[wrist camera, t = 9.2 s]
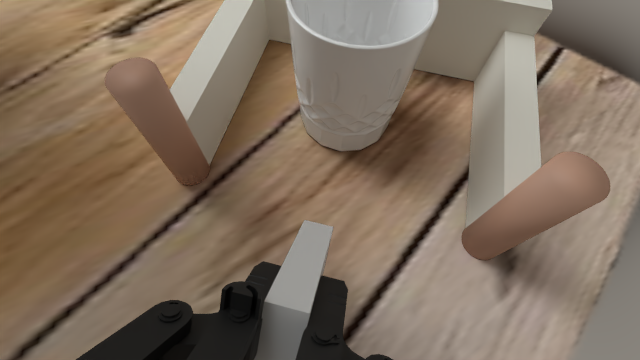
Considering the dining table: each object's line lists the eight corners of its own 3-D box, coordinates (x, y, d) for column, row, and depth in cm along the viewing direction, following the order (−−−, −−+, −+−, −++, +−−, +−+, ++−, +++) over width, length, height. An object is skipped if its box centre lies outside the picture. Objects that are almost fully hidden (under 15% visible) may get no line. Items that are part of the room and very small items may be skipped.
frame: (499, 264, 21) (614, 210, 13) (168, 180, 23) (94, 89, 15) (501, 69, 29) (574, -39, 21) (253, 20, 31) (233, -96, 23)
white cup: (384, 75, 28) (418, -53, 19) (404, 155, 25) (458, 43, 16) (290, 80, 28) (281, -48, 19) (297, 163, 24) (290, 52, 15)
